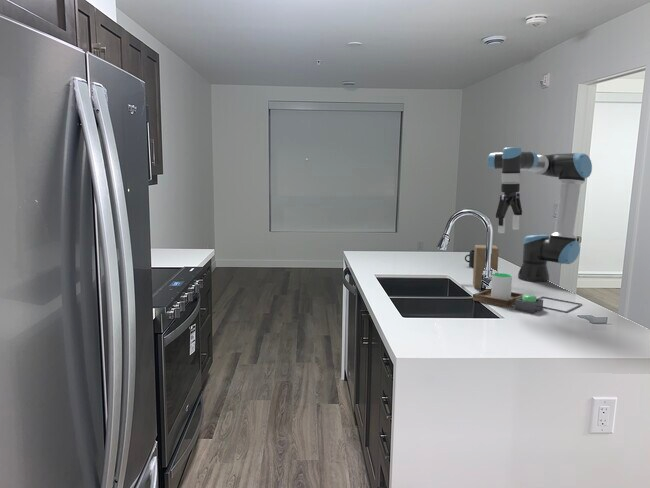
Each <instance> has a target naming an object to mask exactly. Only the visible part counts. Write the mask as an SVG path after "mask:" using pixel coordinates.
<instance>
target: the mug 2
mask: <svg viewBox="0 0 650 488" xmlns="http://www.w3.org/2000/svg"><path fill="white" fill-rule="evenodd" d="M512 283H513V275H512V274H510V273H500V272H499V273H498V272H497V273H495V274H492V289H491V297H492V298H497V299H502V300H510V299H511V292H512V287H513V285H512Z"/></svg>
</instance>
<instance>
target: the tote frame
mask: <svg viewBox="0 0 650 488" xmlns="http://www.w3.org/2000/svg"><path fill="white" fill-rule="evenodd" d="M543 298H544V299H546V300H547V299H548V300H553V301H558V302H564V303H568V304H574V305H576V306H573V307H571V308H570V309H567V310H562V309H556V308H552V307H547V306H543V309H546V310H551V311H557V312H561V313H569V312H571V311H573V310H575V309H577V308H580V307H581V306H583V303H580V302H574V301H569V300H563V299H559V298H553V297H548V296H540V297H538V298H537V297H536V299H540V300H542V299H543Z"/></svg>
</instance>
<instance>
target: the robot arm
mask: <svg viewBox="0 0 650 488" xmlns="http://www.w3.org/2000/svg"><path fill="white" fill-rule="evenodd" d="M486 162H487V166H488V167H489V168H490V169H491V170H492V169H494V170H501V176H500V178H501V183H502V184H500V185H501V187H500V189H501V190H500V191H501V192H502V193H503V194H500V196H499V202H498V205H497V209H496V213H495V218H496V219H497V220H498V221H497V222H498V223H497V224H498V225H497V226H498V227H497V233H498V234H506V233H505V232H506V218H505V217H506V214H507V212H508V209H509V207H511V211H512V212H513V214H512V225H511V226H512V230H515V231H516V230H517V231H519V230H520V216H522V215H523V209H522V203H521V198H520V197H521V195H520V193H519V192H520V187H521V186H520V182H521V171H522V172H533V173H534V174H536V175H542V176H546V177H550V178H551V177H553V178H558V180H557V181H558V182H559V183H560V190H559V191H560V192H559V197H558V204H557V211H556V217H555V225H554V230H553V232H552V233H551V234H550V235H548V234H534V235H532V234H530V235H526V236H525V237H524V240H523V247H522V249H523V251H522V264H521V265H520V267H519V268H520V269H519V271H518V274H517V278H518V279H519V280H523V281H527V282H537V283H538V282H549V281H550V272H549V269H548V262H551V263H555V264H556V263H557V264H560V265H563V264H565V265H571V264H573V263H574V262H575V261H576V260H577V259H578V257H579V255H580V252H581V246H580V243H579V242H578V241H577V237H576V236H575V234H574V231H575V226H576V225H575V224H576V219H577V212H578V211H577V210H578V203H579V199H580V198H579V197H580V191H581V186H582V185H583V184H584V183H585V182H586V179H587V178H590V176H591V175H592V170H593V165H592V164H593V163H592V160H591V158H590V156H589V155H588V154H587V153H580V152H574V153H554V154H537V152H534V151H530V150H529V151H522V148H521V147H519V146H513V147H512V146H511V147H508V146H507V147H504V148H503V149H502V152H501V151H499V152H491V153H490V154H488V156H487V159H486Z"/></svg>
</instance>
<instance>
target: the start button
mask: <svg viewBox="0 0 650 488" xmlns="http://www.w3.org/2000/svg"><path fill="white" fill-rule="evenodd" d="M536 299H537V296H536V295H534V294H533V295H532V294H524V295H523V297H522V301H527V302H532V303H534V302H536Z"/></svg>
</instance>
